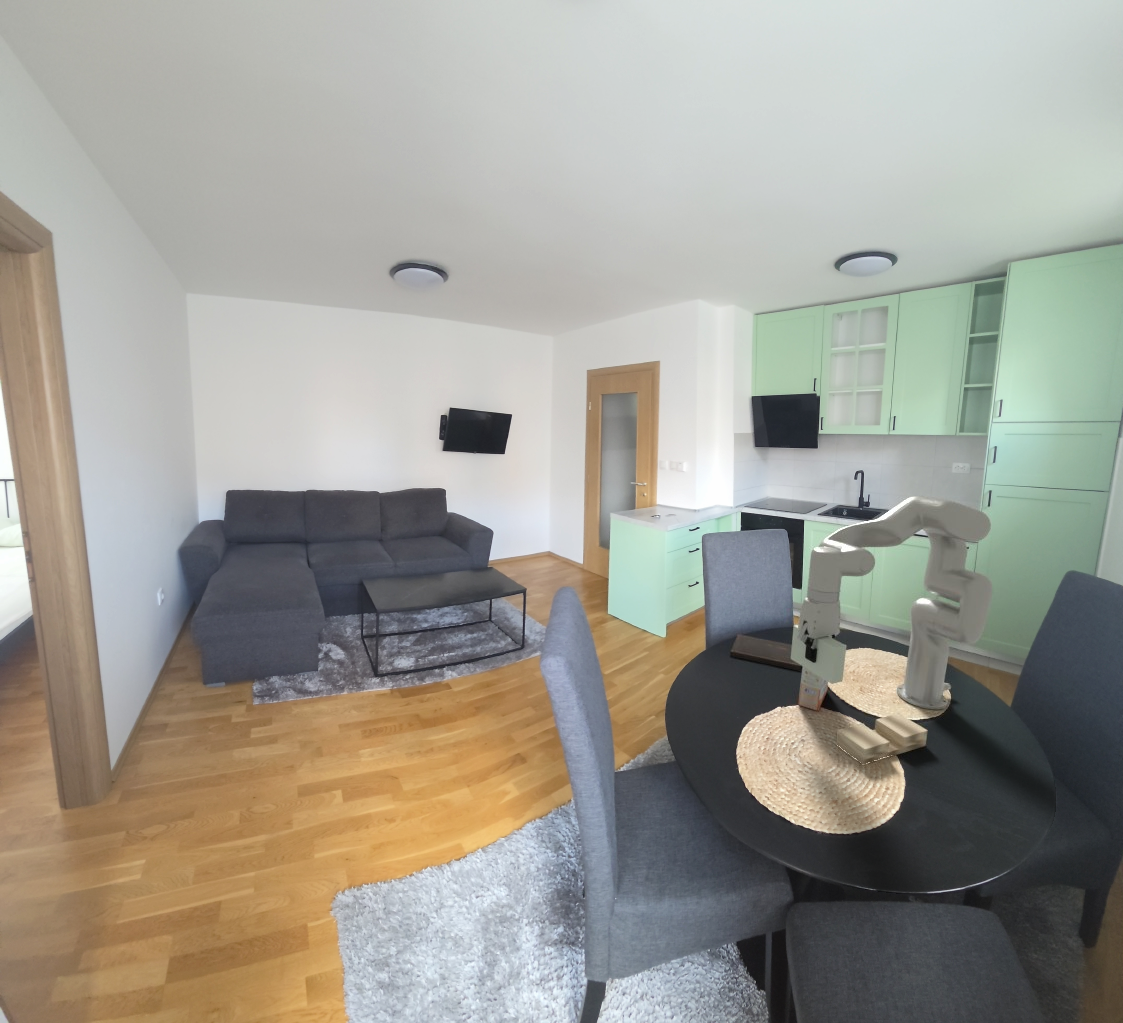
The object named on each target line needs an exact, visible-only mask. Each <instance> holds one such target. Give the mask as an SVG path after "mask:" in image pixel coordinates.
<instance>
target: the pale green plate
mask: <svg viewBox="0 0 1123 1023" xmlns="http://www.w3.org/2000/svg"><path fill="white" fill-rule="evenodd" d="M799 633H800V632H798V624H795V625H793V630H792V641H791V642H792V643H791V645H792V650H791V659H792V660H793V661H795V662H797V663H798V664H800V665H801V667H802V668H803V667H805V668H807V669H808V670H810V671H812V672H813V673H815V674H816V675H818V676H820V677H821V678H823V679H825V680H826V681H828V683H829V684H831V685H832V684H838V683H841V682H843V680H844V679H843V678H844V671H845V670H844V669H845V662H846V653H847V644H844V643H843V642H840V641H838V640H836V639H835V638H834V639H833V638H831V637H829V636H825V637H820V638H818V639H817V643H816V649H817V656H816V662H815V663H813V662H811V661H809V660H808V659H806V658H805V651H806V645H805V644H804V642H803V641H801V640H799V639H798V638H797V637H798V635H799ZM810 641H811V642H812V639H811V638H810Z"/></svg>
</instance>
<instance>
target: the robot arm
mask: <svg viewBox="0 0 1123 1023" xmlns="http://www.w3.org/2000/svg"><path fill="white" fill-rule="evenodd" d="M991 524H992V523H991V520H990V518H989V516H988V515H987V514H986V513H984V512H983V511H980V510H978V509H975V508H972V507H970V506H967V505H965V504H962V503H958V502H956V501H952V500H948V499H944V498H943V499H942V498H935V497H931V496H930V497H929V496H923V495H921V496H920V495H914V496H910V497H908V498H906V499H905V500H903V501H901V502H900V503H899V504H897V505H896V506H894V507H893V508H891V509H890V510H889V511H887V512H886V513H884V514H883V515H881V516H880V517H878V518H876V519H873V520H868V521H863V522H860V523H856V524H852V525H848V526H845V527H841V528H840V529H838V530H836V531H835V532H833V533H831V534H830V535H829V536H827V537H826V538H824V539H823V541H821V542H820V544H818V546H817V547H814V548H813V549H812V550H811V552H810V557H809V558H810V560H809V568H808V570H809V571H808V578H807V579H808V580H807V590H806V597H805V598H803V601H802V605H801V608H800V611H799V617H798V623H797V625H798V632H800V633H799V635H798V637H797V638H798V639H799V640H801V641H803V642H804V644H805V645H806V651H805V658H806V659H808V660H809V661H811V662H813V663H815V662H816V656H817V649H816V643H817V639H818V638H820V637H825V636H829V637H831V638H833V639H835V638H836V637H837V636H838V635H839V634H840V633H841V630H840V625H841V601H840V595H841V594H840V593H841V584H842V577H863V576H864V577H865V576H866V575H868V574H870V573H871V572H872V571H873V569H874V568H875V565H876V559H875V557H874V554H873V553H872V552H870V551H869V550H868V549H865V548H891V547H896V546H899V545H902V544H903V543H904V542H906V540H908V539H910V538H911V537H912V536H914V535H915V534H917V533H919V532H920V531H921V530H923V531H924V532H925V534H926V535H927V537H928V540H929V543H930V544H929V545H930V548H929V554H928V561H927V563H926V568H925V573H924V577H923V578H924V579H923V587H924V589H925V590H926V591H927V592H928V593H930V594H932V595H934V596H938V597H939V598H943V599H946V600H949V601H952V602H954V603H955V602H956V603H957V604H959V606H958V605H954V604H951V603H948V602H946V601H943V600H940V599H937V598H932V597H920V598H918V599H916V600H915V601H913V603H912V605H911V606H910V610H909V619H910V638H909V639H910V640H909V646H908V651H907V652H908V654H907V660H906V668H905V675H904V681H903V684H899V685H898V686H897V687H896V693H897V696H899V697H900V698H901V699H902V700H903V701H906V702H907V703H909V704H912V705H914V706H915V707H919V708H923V709H928V710H943V709H945V708H946V707H947V706H948V700H947V698H946V696H945V695H944V692H945V691H947V690H951V688H952V685H951V684H950V683H948V682H945V679H946V671H947V665H948V658H949V654H950V646H949V642H948V640H950V641H953V642H956V643H958V644H962V645H966V646H967V645H968V646H971V645H974V644H976V643H977V642H978V641H979V640H980V638H981V637H982V635H983V633H984V630H985V626H986V623H987V618H988V614H989V611H990V605H991V602H992V599H993V594H994V591H993V589H994V588H993V584H992V581H991V580H990V579H989V577H987V576H986V575H984V574H982V573H979V572H977V571H972V570H969V569H966V561H967V556H968V546H967V544H966V542H968V543H977V542H980V541H982V540H984V539H985V538H986V537H987V536H988V535H989V534H990V531H991V528H992V527H991V526H992V525H991ZM810 638H811V639H812V642H811V641H810Z"/></svg>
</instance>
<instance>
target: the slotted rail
mask: <svg viewBox="0 0 1123 1023" xmlns="http://www.w3.org/2000/svg"><path fill="white" fill-rule="evenodd" d="M927 735H928V729H926V728H925V727H923V726H921V725H919V724H918V723H915V722H914V721H912V720H911V719H910V718H907V717H905V716H904V715H902V714H901V713H898V712H897V713H895V714H890V715H888V716H883V717H881V718H877V719H875V723H874V729H871V728H869V727H868V726H866V725H865V724H863V723H859V724H855V725H852V726H848V727H844V728H841V729H840V728H839V729H837V732H836V741H835V745H836V744H837V745H838V746H840V747H841V748H842V749H843V750H845V751H846V752H847V753H849V754H850V755H851V756H853V757H854V758H856V759H857V760H858V761H859V762H861V763H862V764H866V763H868V762H872V761H874V760H878V759H880V758H883V757H887V756H891V755H894V756H896V755H897V756H898V755H900V754H903V753H906V752H909V751H910V752H911V751H912V750H917V749H920V748H923V747H926V744H927V737H928V736H927ZM843 750H842V751H843ZM847 753H846V754H847ZM851 756H850V757H851ZM891 757H892V756H891ZM878 761H879V760H878ZM859 762H858V763H859ZM872 763H873V762H872ZM862 764H861V765H862ZM866 765H867V764H866Z"/></svg>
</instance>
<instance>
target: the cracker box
mask: <svg viewBox="0 0 1123 1023" xmlns="http://www.w3.org/2000/svg"><path fill="white" fill-rule="evenodd" d="M800 676H801V678H800V685H799V686H800V687H799V694H798V706H800V707H804V708H806V709H809V708H810V709H809V710H812V709H813V711H815V710H817V711H816V712H819V710H820V708H821V706H822V704H823V701H824V699H825V698H826V697H825V696H826V695H827V692H828V688H829V682H828V681H826V680H825V679H823V678H821V677H820V676H818V675H816V674H815V673H813V672H812V671H810V670H808V669H807V668H805V667H803V666H802V667H801V675H800Z"/></svg>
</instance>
